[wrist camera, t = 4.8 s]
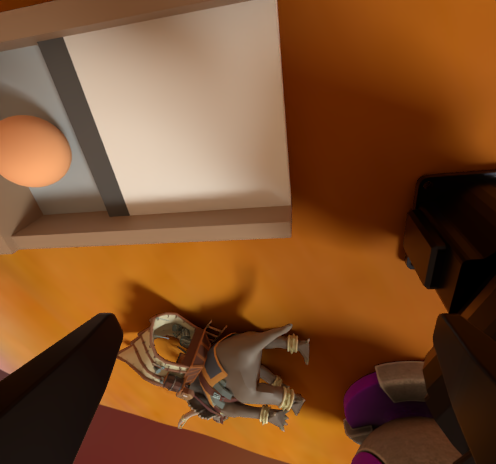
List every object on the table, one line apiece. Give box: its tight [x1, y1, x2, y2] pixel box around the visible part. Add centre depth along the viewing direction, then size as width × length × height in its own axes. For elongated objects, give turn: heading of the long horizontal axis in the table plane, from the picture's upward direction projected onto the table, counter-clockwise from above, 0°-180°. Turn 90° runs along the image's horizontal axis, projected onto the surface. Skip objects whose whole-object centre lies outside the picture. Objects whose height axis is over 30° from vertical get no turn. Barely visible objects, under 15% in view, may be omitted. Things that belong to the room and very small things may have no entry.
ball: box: [0, 115, 72, 187], centre depth 17 cm, size 4×4×4 cm
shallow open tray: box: [0, 0, 292, 254], centre depth 17 cm, size 19×12×4 cm, turn 98°
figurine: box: [117, 312, 310, 432], centre depth 26 cm, size 20×6×17 cm
